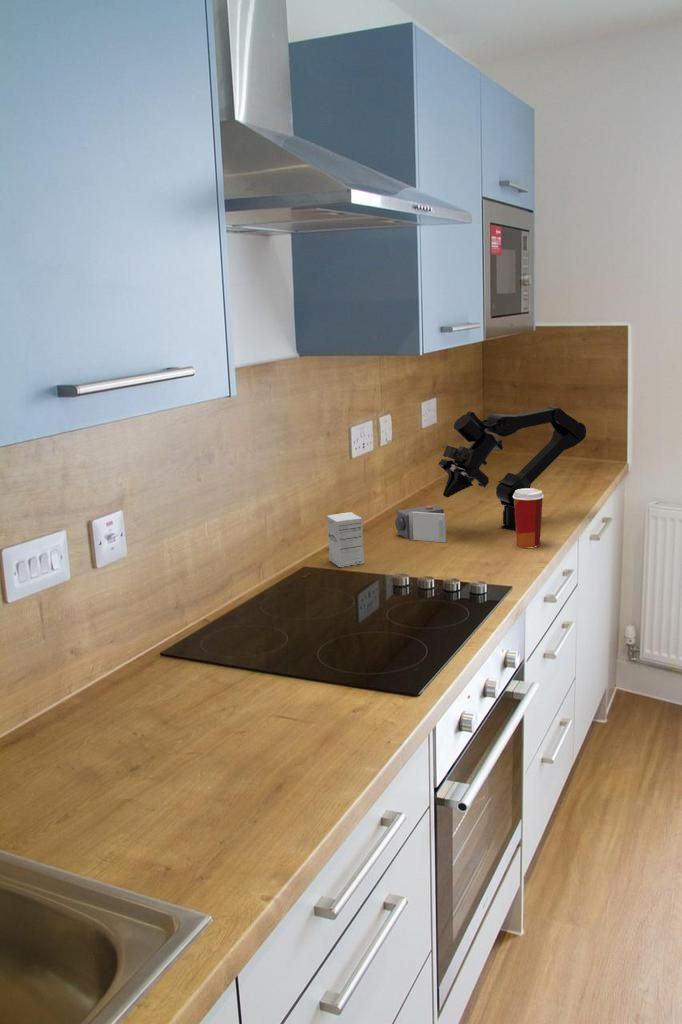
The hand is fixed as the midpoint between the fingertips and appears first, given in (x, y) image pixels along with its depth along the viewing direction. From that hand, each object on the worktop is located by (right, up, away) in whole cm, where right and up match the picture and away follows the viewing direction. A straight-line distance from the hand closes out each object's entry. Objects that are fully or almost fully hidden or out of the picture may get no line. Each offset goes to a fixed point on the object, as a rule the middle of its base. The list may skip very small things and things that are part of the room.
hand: (444, 496), depth 246 cm
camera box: (-6, -11, +11) cm, 16 cm away
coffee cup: (+22, -14, -6) cm, 26 cm away
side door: (-5, -12, +3) cm, 14 cm away
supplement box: (-27, -18, -12) cm, 35 cm away
